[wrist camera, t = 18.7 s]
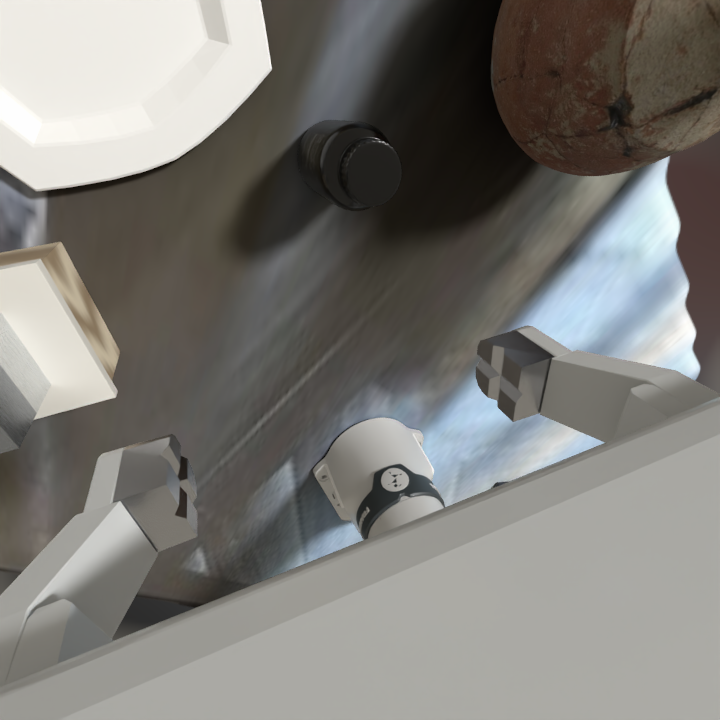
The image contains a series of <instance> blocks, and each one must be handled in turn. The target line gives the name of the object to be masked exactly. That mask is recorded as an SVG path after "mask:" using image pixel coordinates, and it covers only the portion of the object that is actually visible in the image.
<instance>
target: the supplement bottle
mask: <svg viewBox="0 0 720 720" xmlns="http://www.w3.org/2000/svg"><path fill="white" fill-rule="evenodd" d="M298 166H299V170H300V173H301V176H302V178H303V179H304V181H305V182H306V184H307V185H308V186H309V187H310V188H311V189H312V190H314V191H315V192H316V193H318V194H319V195H321V196H323V197H324V198H326V199H327V200H329V201H331V202H332V203H334V204H335V205H337V206H339V207H341V208H343V209H346V210H351V211H360V210H365V209H368V208H370V207H373V206H378V205H382V204H384V203H386V202H387V201H388V200H389V199H391V198H392V196H393V195H394V194H395V193H396V190H397V189H398V187H399V184H400V183H401V177H402V174H401V172H402V168H401V162H400V157H399V156H398V155H397V152H396V151H395V150H394V148H393V147H392V146H390V143H389V142H388V140H387V138H386V137H385V136H384V135H383V133H382V132H381V131H379V130H378V129H377V128H375V127H374V126H372V125H369V124H366V123H362V122H352V121H339V120H326V121H322V122H319V123H317V124H315V125H313V126H312V127H311V128H310V129H309V130H308V131H307V132H306V133H305V134H304V136H303V138H302V140H301V142H300V145H299V149H298Z"/></svg>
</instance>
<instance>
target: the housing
mask: <svg viewBox="0 0 720 720" xmlns="http://www.w3.org/2000/svg"><path fill="white" fill-rule="evenodd" d="M50 386H51V383H50V382H49V380H48V379H47V378H46V376H45V375H44V373H43V372H42V370H41V369H40V368H39V366H38V365H37V363H36V362H35V360H34V359H33V357H32V356H31V355H30V353H29V352H28V350H27V349H26V347H25V346H24V345H23V343H22V342H21V340H20V339H19V337H18V336H17V334H16V333H15V332H14V330H13V329H12V327H11V326H10V324H9V323H8V322H7V320H6V319H5V317H4V316H3V314H2V313H0V454H1V453H4V452H8V451H11V450H15V449H18V448H20V446H21V444H22V442H23V440H24V438H25V436H26V434H27V432H28V430H29V428H30V426H31V424H32V422H33V420H34V418H35V416H36V414H37V412H38V410H39V408H40V406H41V404H42V402H43V400H44V398H45V396H46V394H47V392H48V390H49V388H50Z"/></svg>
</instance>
